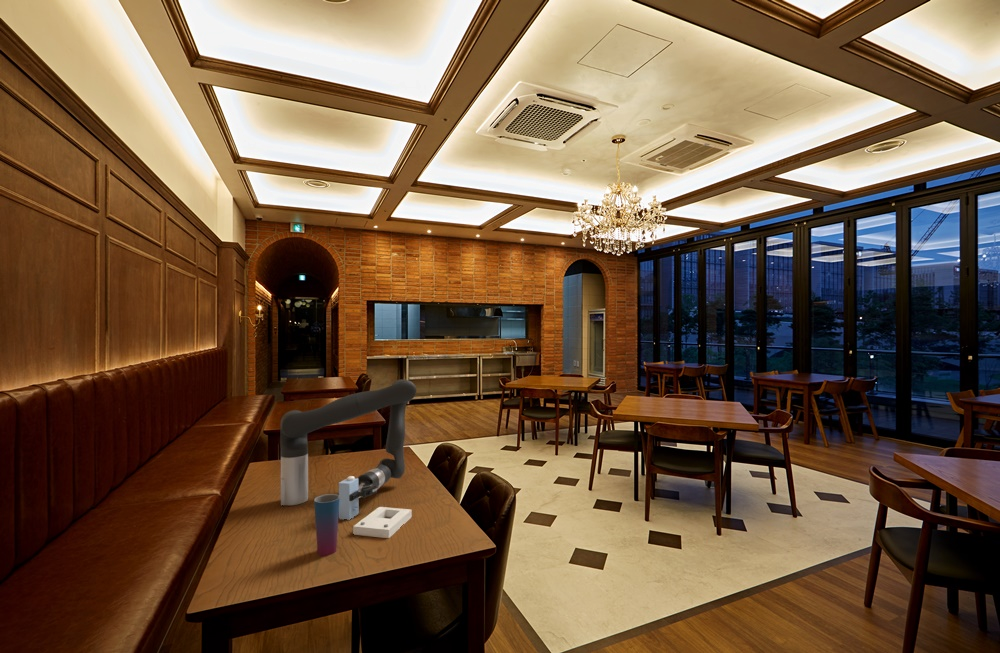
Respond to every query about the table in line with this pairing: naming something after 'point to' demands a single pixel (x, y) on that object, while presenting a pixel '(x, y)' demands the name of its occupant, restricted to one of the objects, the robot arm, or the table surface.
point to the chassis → (382, 522)
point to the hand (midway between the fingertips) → (344, 497)
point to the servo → (345, 506)
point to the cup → (326, 523)
